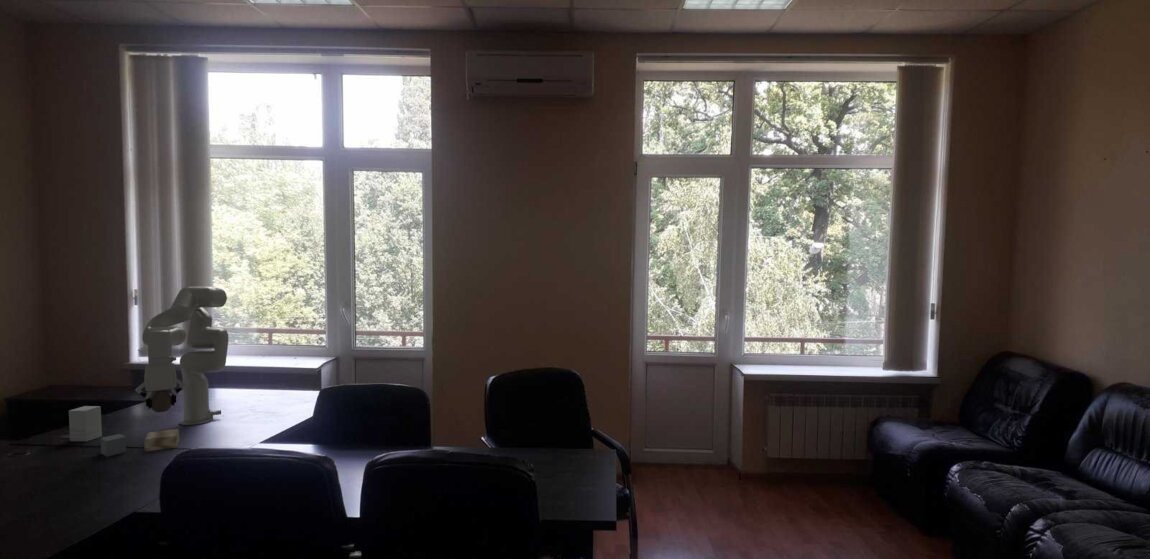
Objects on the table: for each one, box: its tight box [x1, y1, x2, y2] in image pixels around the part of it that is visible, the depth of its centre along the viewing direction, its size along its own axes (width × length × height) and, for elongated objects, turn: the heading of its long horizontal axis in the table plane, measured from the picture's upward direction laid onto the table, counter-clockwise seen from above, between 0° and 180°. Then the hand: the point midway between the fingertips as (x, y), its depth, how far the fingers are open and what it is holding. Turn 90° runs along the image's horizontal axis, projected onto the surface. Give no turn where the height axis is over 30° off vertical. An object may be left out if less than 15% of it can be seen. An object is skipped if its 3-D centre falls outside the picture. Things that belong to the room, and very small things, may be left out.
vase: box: [150, 390, 173, 413], centre depth 226 cm, size 7×7×9 cm
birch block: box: [144, 428, 180, 453], centre depth 227 cm, size 10×10×5 cm
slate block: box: [100, 433, 127, 457], centre depth 219 cm, size 6×6×6 cm
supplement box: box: [68, 405, 103, 442], centre depth 235 cm, size 7×7×13 cm
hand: (161, 406), depth 226 cm, fingers closed on vase, 6 cm apart
